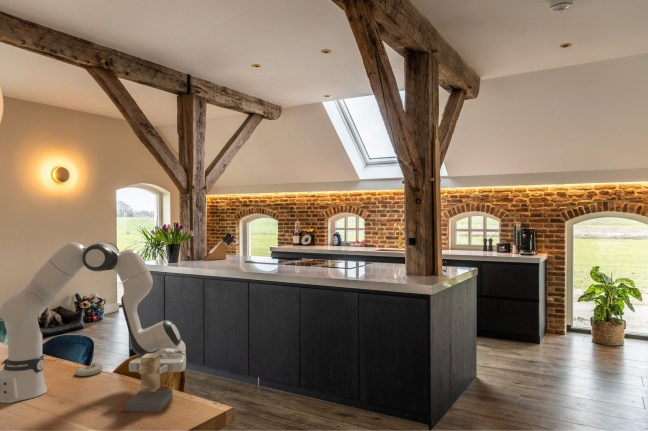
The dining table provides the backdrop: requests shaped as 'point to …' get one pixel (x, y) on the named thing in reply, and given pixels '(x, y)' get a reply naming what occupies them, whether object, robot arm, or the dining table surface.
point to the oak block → (150, 372)
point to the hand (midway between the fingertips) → (149, 371)
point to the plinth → (149, 401)
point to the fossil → (89, 370)
